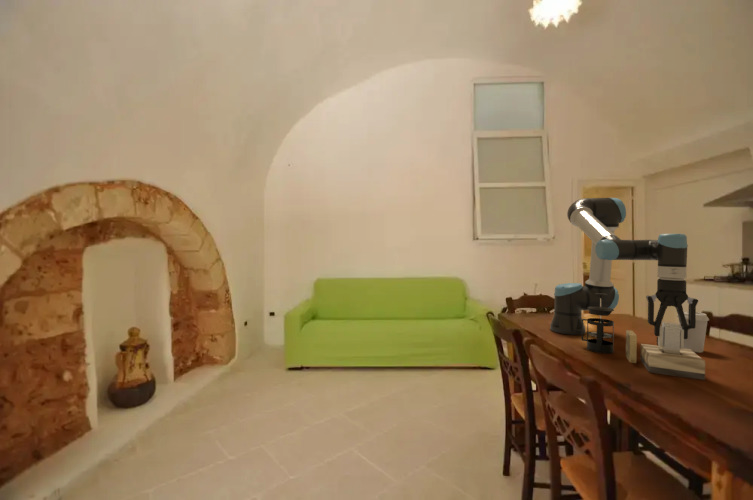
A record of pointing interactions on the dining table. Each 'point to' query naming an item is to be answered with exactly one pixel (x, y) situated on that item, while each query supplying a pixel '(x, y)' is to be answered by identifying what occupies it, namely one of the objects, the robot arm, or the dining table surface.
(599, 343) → the french press
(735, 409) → the dining table surface
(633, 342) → the beige rectangular slab
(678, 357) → the bore block
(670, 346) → the square bit
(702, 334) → the coffee cup
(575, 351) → the dining table surface
